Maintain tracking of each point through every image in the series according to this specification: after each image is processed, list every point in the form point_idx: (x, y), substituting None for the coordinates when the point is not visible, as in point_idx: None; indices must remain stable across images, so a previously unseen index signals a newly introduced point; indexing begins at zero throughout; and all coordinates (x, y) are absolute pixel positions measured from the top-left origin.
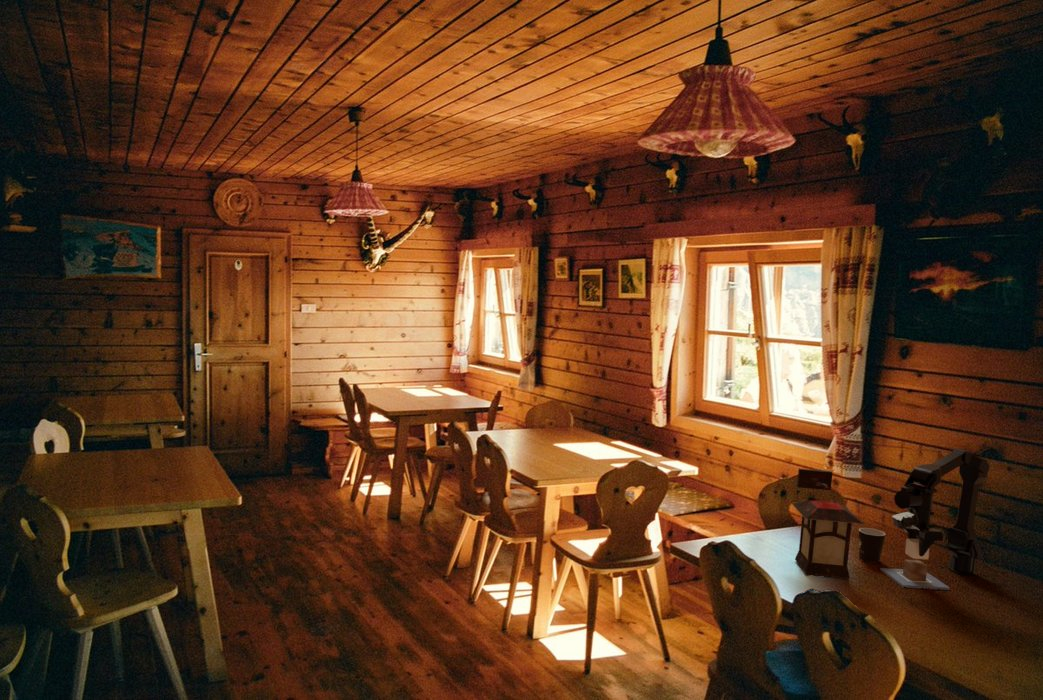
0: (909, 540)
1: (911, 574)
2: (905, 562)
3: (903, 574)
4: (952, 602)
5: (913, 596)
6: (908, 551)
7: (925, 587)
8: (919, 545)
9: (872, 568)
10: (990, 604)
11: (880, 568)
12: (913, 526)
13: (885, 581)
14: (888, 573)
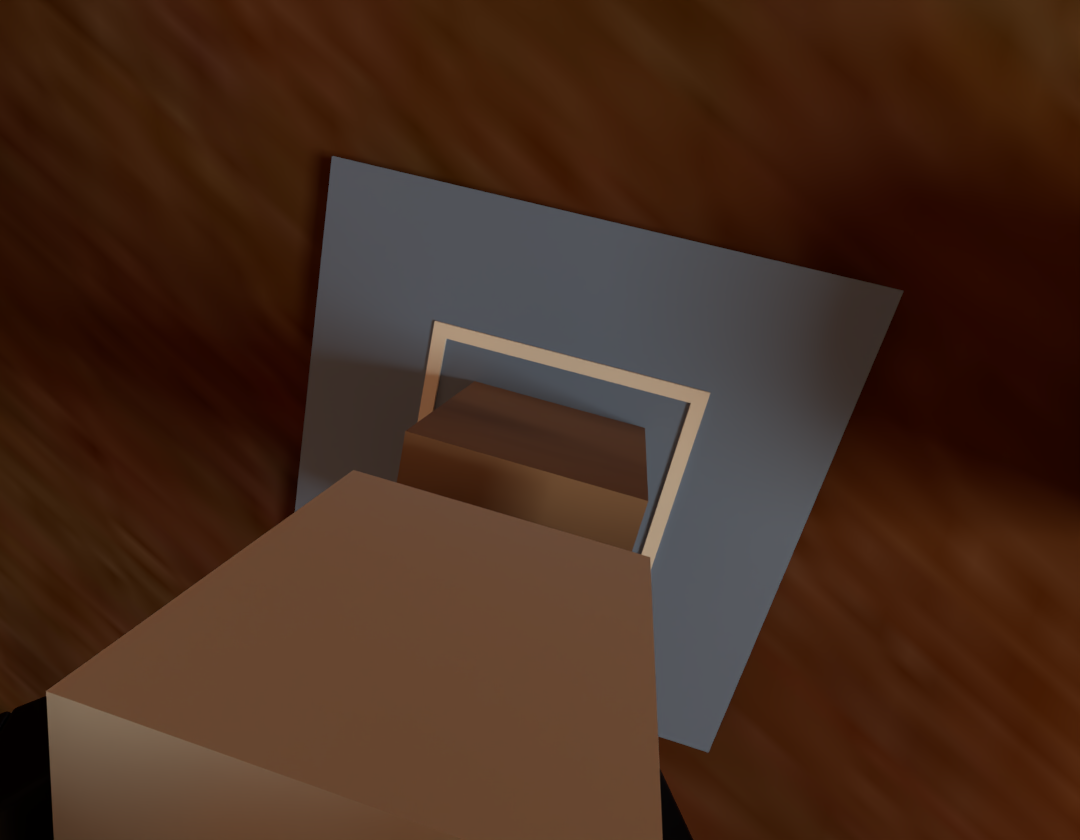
0: (433, 816)
1: (453, 399)
2: (605, 474)
3: (629, 424)
4: (44, 399)
5: (123, 94)
6: (519, 564)
7: (311, 403)
8: (45, 752)
9: (985, 225)
10: (59, 665)
11: (900, 291)
12: None
13: (531, 64)
14: (697, 252)
